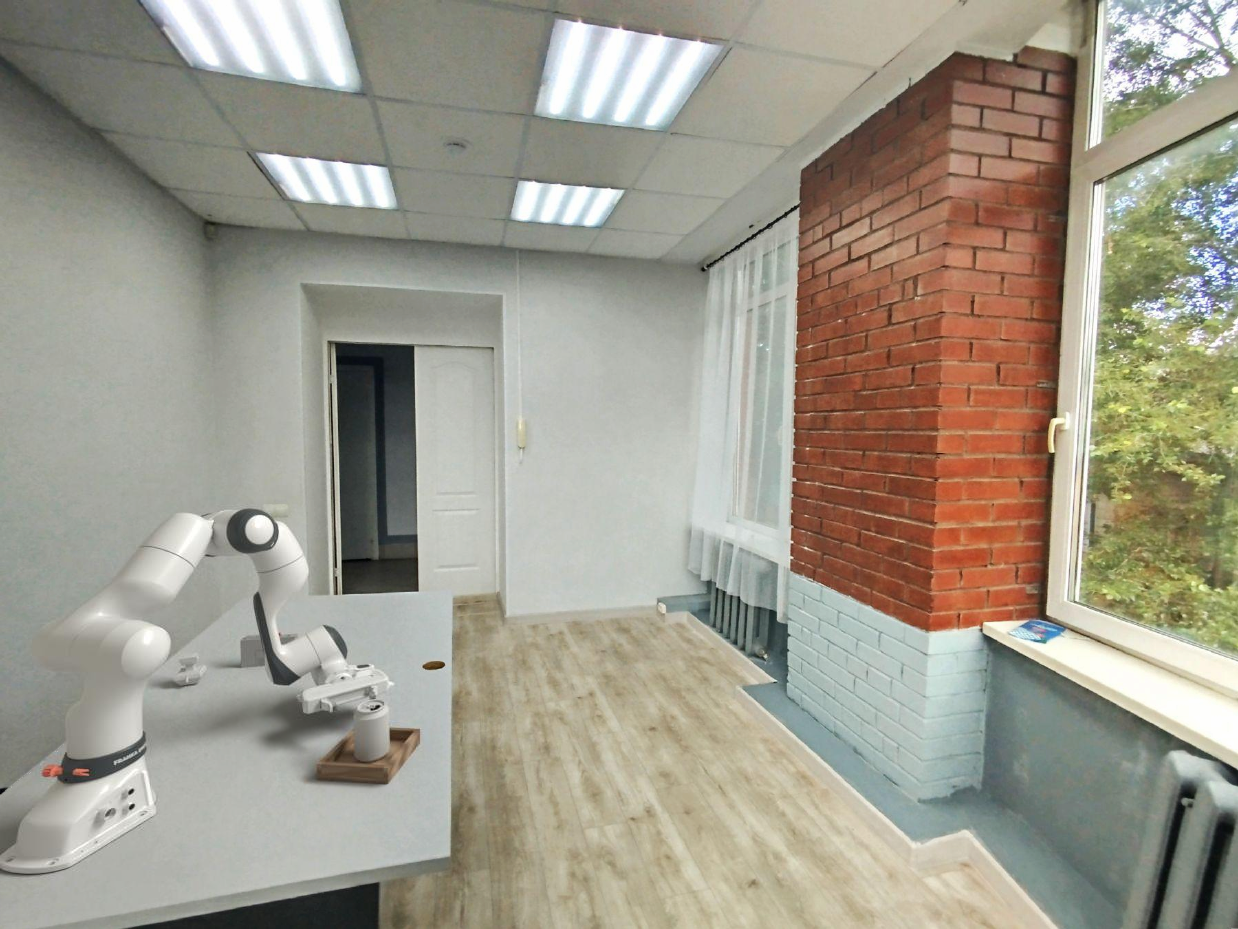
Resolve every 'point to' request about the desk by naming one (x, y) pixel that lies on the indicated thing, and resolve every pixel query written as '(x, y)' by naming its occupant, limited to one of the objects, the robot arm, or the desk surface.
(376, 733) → the can
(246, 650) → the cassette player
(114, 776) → the robot arm
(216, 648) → the desk surface
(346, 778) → the tray
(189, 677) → the stamp
